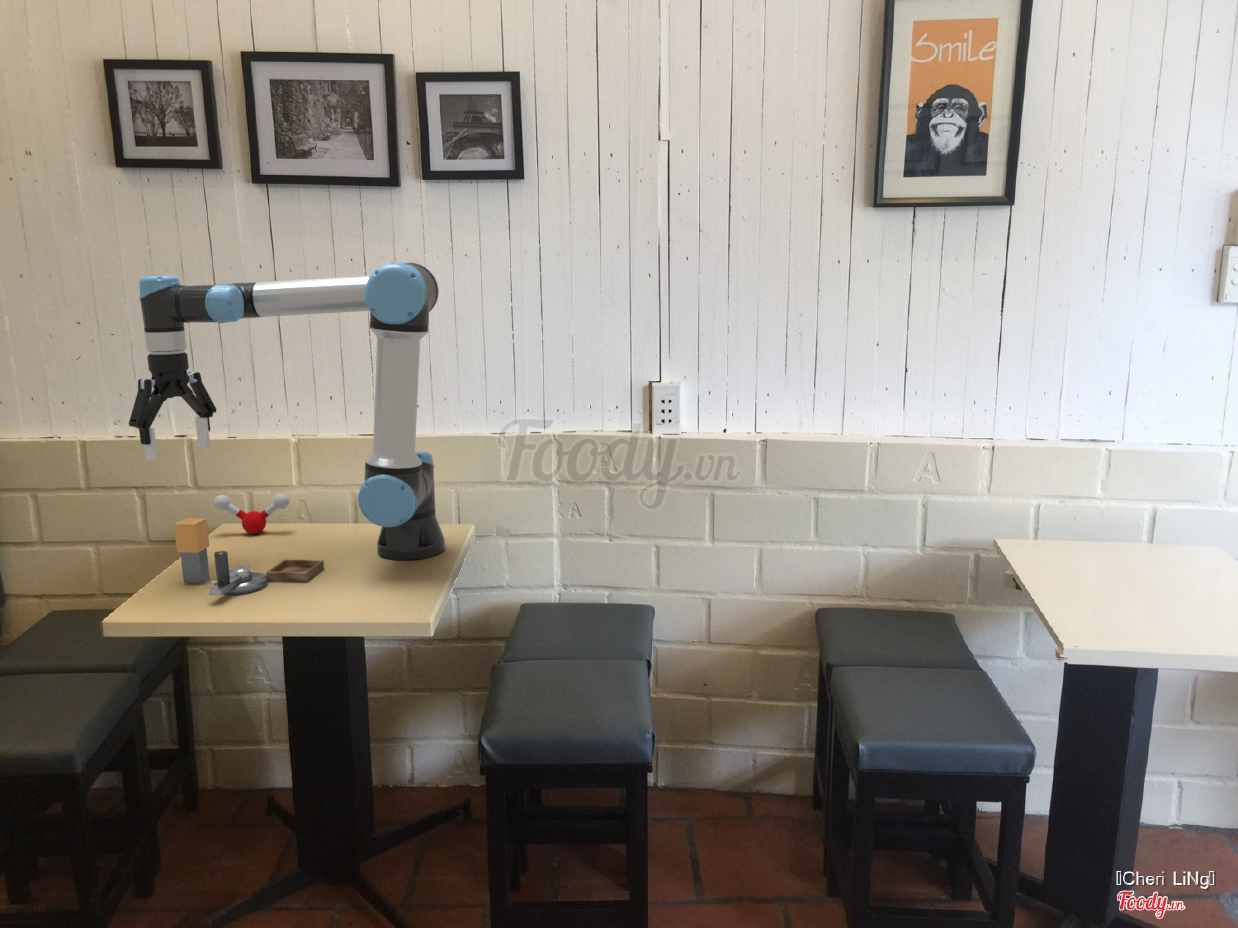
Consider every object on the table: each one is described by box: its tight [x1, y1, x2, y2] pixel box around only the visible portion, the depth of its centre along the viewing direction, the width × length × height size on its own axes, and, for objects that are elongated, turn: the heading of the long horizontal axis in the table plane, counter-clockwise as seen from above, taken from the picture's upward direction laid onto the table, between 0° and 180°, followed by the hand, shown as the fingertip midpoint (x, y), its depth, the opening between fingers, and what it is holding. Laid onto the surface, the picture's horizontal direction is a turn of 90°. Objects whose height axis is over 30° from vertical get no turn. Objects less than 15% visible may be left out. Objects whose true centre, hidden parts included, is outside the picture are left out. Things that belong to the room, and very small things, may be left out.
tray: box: [265, 558, 325, 584], centre depth 198 cm, size 9×9×2 cm
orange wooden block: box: [173, 517, 210, 553], centre depth 193 cm, size 4×4×6 cm
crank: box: [208, 550, 253, 597], centre depth 187 cm, size 12×4×8 cm, turn 174°
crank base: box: [210, 571, 268, 596], centre depth 192 cm, size 10×10×2 cm
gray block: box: [179, 547, 211, 585], centre depth 194 cm, size 4×3×7 cm
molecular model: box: [213, 493, 290, 535], centre depth 228 cm, size 18×6×10 cm, turn 102°
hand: (178, 453), depth 198 cm, fingers open, 13 cm apart
